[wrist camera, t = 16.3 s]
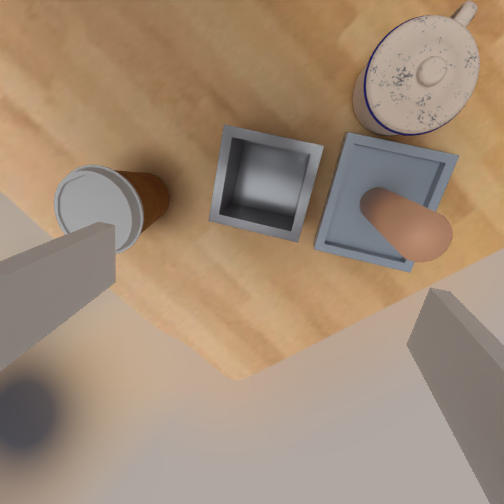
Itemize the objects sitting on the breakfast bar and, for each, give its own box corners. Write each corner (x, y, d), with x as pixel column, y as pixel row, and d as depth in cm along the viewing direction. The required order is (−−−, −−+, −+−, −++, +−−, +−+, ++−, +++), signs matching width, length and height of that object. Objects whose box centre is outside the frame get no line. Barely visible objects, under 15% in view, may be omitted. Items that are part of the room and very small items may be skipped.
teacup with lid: (394, 154, 36) (434, 157, 25) (332, 107, 35) (346, 89, 25) (477, 54, 32) (569, 6, 21) (409, -1, 31) (467, -80, 20)
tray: (345, 133, 36) (348, 132, 34) (448, 155, 35) (459, 155, 33) (313, 243, 41) (313, 249, 39) (403, 265, 40) (410, 272, 38)
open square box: (239, 129, 38) (223, 124, 30) (319, 146, 37) (324, 145, 29) (225, 207, 41) (208, 221, 34) (298, 224, 40) (297, 242, 33)
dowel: (365, 183, 37) (406, 205, 23) (399, 191, 36) (461, 218, 22) (355, 216, 38) (387, 255, 24) (387, 223, 38) (439, 267, 24)
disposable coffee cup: (184, 168, 40) (138, 176, 29) (177, 236, 44) (134, 267, 32) (116, 154, 41) (46, 156, 30) (114, 222, 44) (51, 247, 33)
